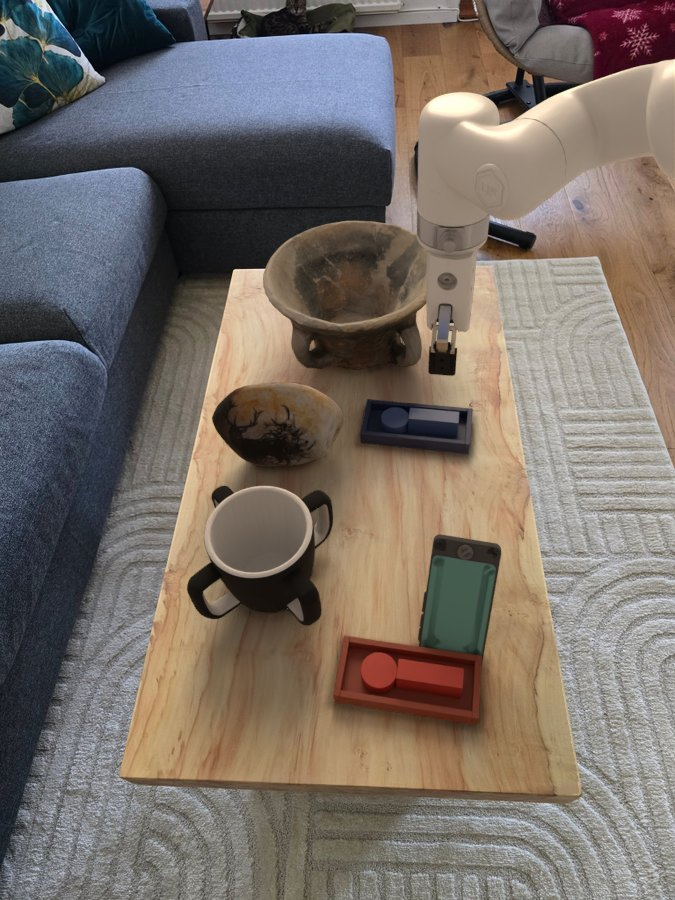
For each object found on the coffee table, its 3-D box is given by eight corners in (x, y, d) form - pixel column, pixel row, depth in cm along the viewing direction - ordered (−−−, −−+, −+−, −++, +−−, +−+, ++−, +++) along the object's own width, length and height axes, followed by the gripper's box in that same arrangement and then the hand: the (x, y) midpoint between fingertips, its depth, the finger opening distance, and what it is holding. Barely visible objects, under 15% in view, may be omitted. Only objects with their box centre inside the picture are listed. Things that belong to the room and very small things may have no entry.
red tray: (479, 663, 76) (481, 655, 75) (476, 725, 72) (478, 718, 70) (345, 643, 79) (344, 635, 77) (334, 702, 74) (333, 695, 73)
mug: (232, 517, 91) (214, 462, 82) (349, 536, 88) (344, 480, 79) (189, 630, 81) (163, 581, 72) (319, 655, 78) (310, 607, 69)
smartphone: (502, 549, 71) (481, 670, 75) (502, 544, 72) (481, 664, 77) (431, 537, 72) (415, 657, 77) (432, 532, 73) (416, 651, 78)
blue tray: (471, 418, 100) (472, 408, 98) (468, 454, 95) (470, 444, 94) (367, 408, 102) (367, 398, 100) (360, 443, 98) (359, 433, 96)
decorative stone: (345, 434, 99) (339, 359, 87) (345, 483, 93) (339, 409, 82) (226, 438, 100) (205, 364, 88) (219, 487, 94) (195, 414, 83)
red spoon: (462, 671, 75) (464, 660, 73) (459, 707, 73) (462, 697, 70) (364, 656, 77) (363, 645, 75) (358, 691, 75) (357, 680, 72)
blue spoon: (458, 421, 99) (459, 407, 96) (456, 442, 96) (458, 428, 94) (383, 414, 100) (382, 400, 98) (379, 434, 98) (379, 420, 96)
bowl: (292, 287, 122) (281, 212, 110) (440, 294, 118) (446, 217, 107) (258, 395, 105) (242, 319, 94) (430, 406, 102) (436, 329, 90)
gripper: (485, 273, 66) (471, 398, 79) (491, 182, 76) (479, 305, 90) (407, 270, 67) (406, 393, 80) (425, 180, 78) (421, 301, 91)
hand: (445, 346), depth 85 cm, fingers open, 9 cm apart
